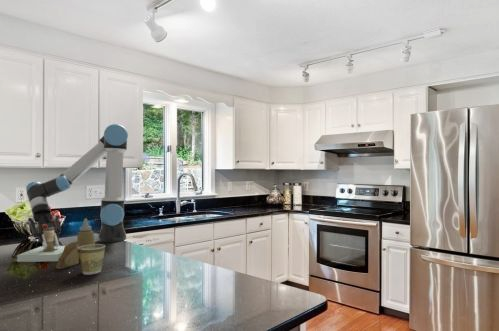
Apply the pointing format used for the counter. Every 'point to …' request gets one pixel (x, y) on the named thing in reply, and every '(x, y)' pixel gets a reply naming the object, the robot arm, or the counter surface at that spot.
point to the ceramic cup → (91, 258)
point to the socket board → (40, 255)
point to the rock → (69, 256)
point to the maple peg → (49, 239)
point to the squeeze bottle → (85, 235)
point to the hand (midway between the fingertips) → (51, 246)
